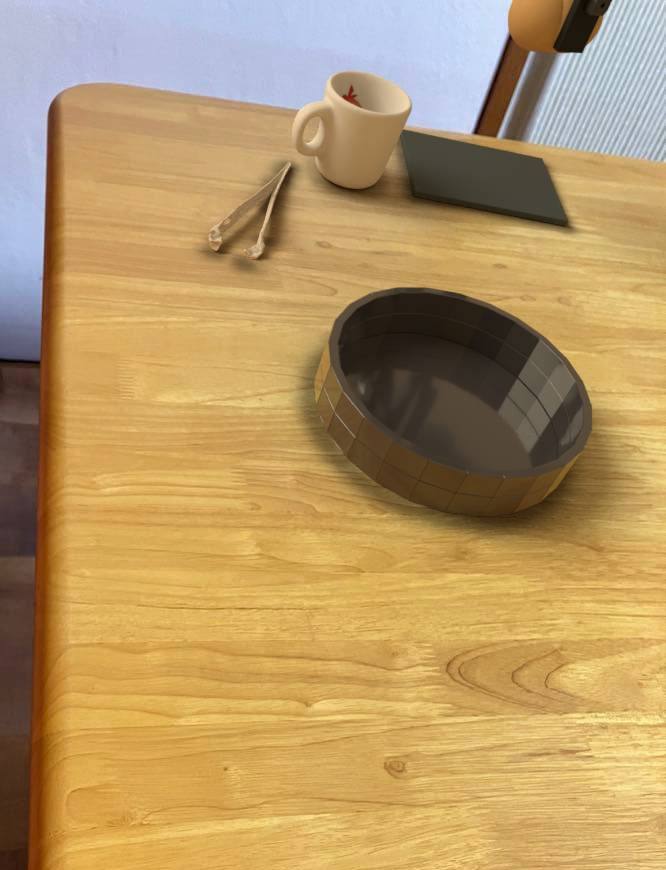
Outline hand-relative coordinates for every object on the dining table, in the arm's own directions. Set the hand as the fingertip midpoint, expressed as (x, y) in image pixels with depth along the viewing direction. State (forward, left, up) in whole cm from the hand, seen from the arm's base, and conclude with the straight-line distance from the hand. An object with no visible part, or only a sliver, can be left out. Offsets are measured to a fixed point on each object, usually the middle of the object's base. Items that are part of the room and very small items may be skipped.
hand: (548, 32), depth 76 cm
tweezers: (+22, +10, -16) cm, 29 cm away
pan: (+9, +34, -15) cm, 38 cm away
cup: (+15, +2, -16) cm, 22 cm away
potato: (0, 0, -1) cm, 1 cm away
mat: (-1, -3, -15) cm, 16 cm away
